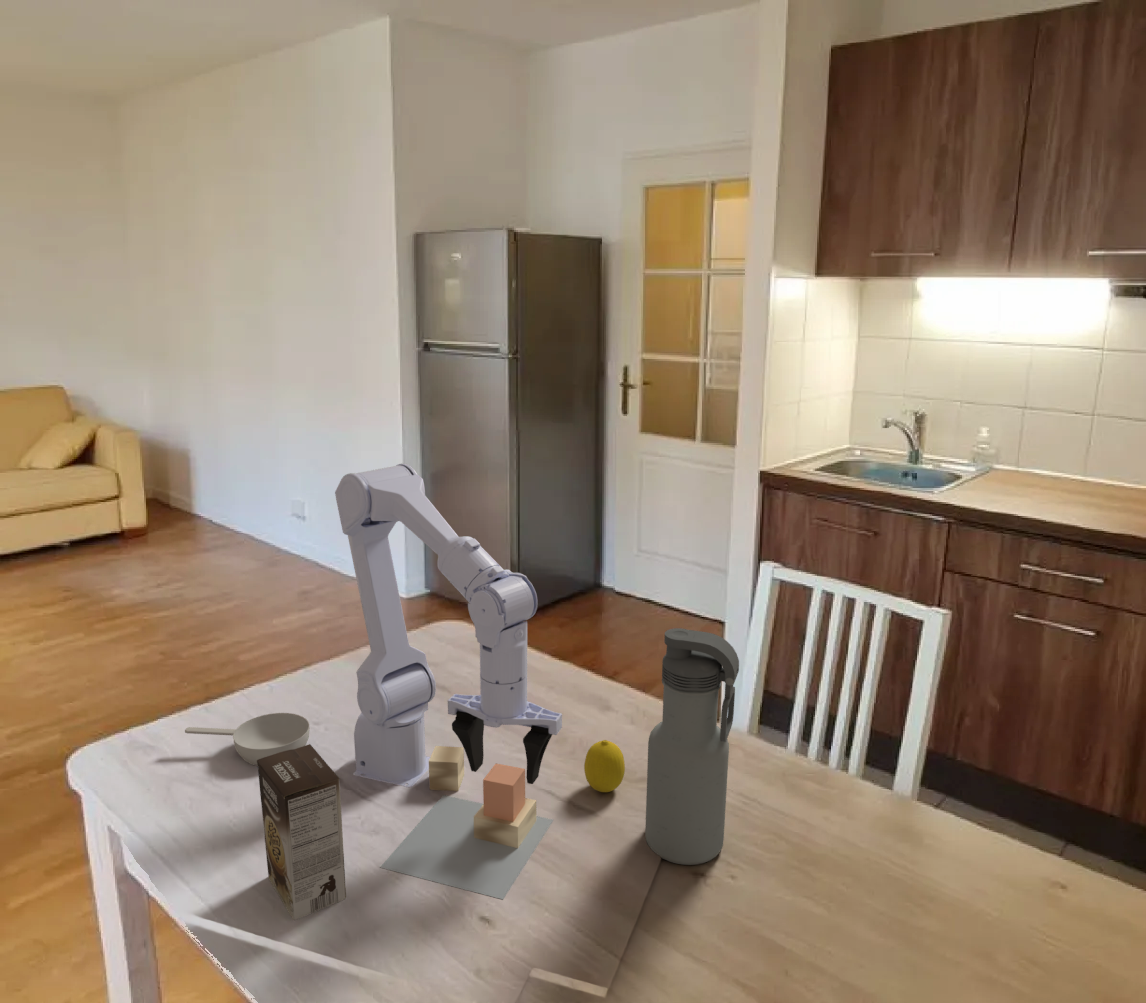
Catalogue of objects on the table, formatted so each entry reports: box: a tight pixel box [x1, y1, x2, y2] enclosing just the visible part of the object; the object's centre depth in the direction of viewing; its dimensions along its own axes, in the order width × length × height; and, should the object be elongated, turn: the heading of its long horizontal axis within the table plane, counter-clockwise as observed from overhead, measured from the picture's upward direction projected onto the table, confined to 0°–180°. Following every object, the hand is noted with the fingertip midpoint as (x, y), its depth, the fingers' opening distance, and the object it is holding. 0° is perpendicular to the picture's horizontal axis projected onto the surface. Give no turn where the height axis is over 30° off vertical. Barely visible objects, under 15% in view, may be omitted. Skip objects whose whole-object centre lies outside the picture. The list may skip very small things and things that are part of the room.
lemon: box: [583, 739, 626, 793], centre depth 120 cm, size 6×6×8 cm
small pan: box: [184, 712, 310, 767], centre depth 130 cm, size 11×18×4 cm, turn 92°
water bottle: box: [644, 627, 740, 866], centre depth 107 cm, size 10×10×28 cm
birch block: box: [428, 745, 465, 792], centre depth 122 cm, size 4×4×5 cm
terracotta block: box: [482, 763, 526, 822], centre depth 110 cm, size 4×4×5 cm
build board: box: [379, 794, 554, 900], centre depth 109 cm, size 16×16×1 cm
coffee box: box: [256, 743, 347, 921], centre depth 99 cm, size 9×6×16 cm
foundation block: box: [474, 797, 537, 848], centre depth 111 cm, size 6×6×3 cm
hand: (504, 773), depth 110 cm, fingers open, 7 cm apart
